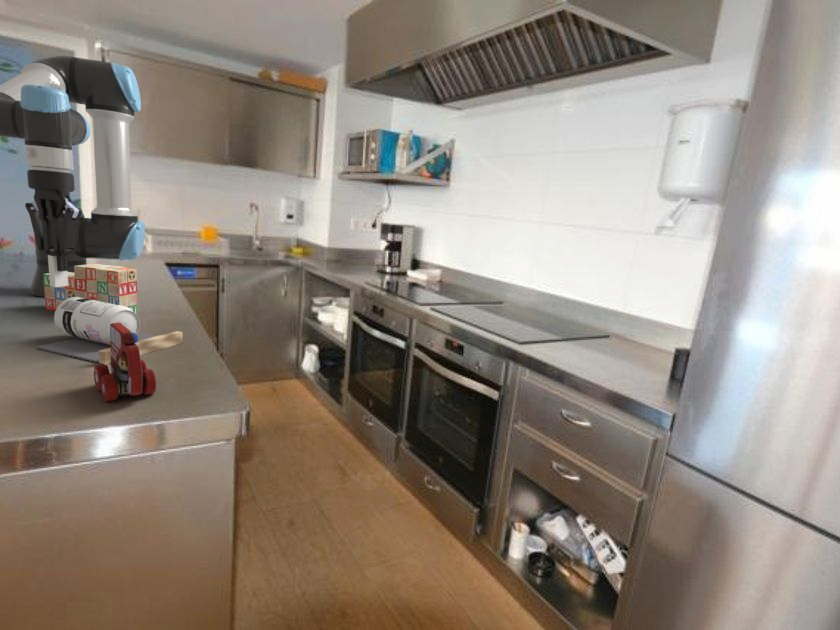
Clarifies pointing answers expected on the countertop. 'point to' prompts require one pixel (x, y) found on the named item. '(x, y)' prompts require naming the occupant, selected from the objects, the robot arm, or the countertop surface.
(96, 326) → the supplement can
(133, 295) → the stack of blocks
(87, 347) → the mat
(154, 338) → the stop rail
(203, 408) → the countertop surface
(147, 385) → the toy fire truck
